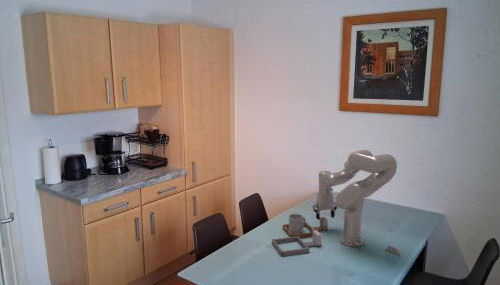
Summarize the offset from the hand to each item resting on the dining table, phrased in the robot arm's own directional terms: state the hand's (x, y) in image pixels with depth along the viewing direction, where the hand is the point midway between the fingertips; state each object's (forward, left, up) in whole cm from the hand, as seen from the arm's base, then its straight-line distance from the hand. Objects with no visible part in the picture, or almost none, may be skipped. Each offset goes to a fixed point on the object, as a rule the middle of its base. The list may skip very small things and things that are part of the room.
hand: (325, 218), depth 229 cm
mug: (+1, +18, -8) cm, 19 cm away
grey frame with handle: (-17, +24, -8) cm, 31 cm away
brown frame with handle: (+1, +12, -8) cm, 15 cm away
